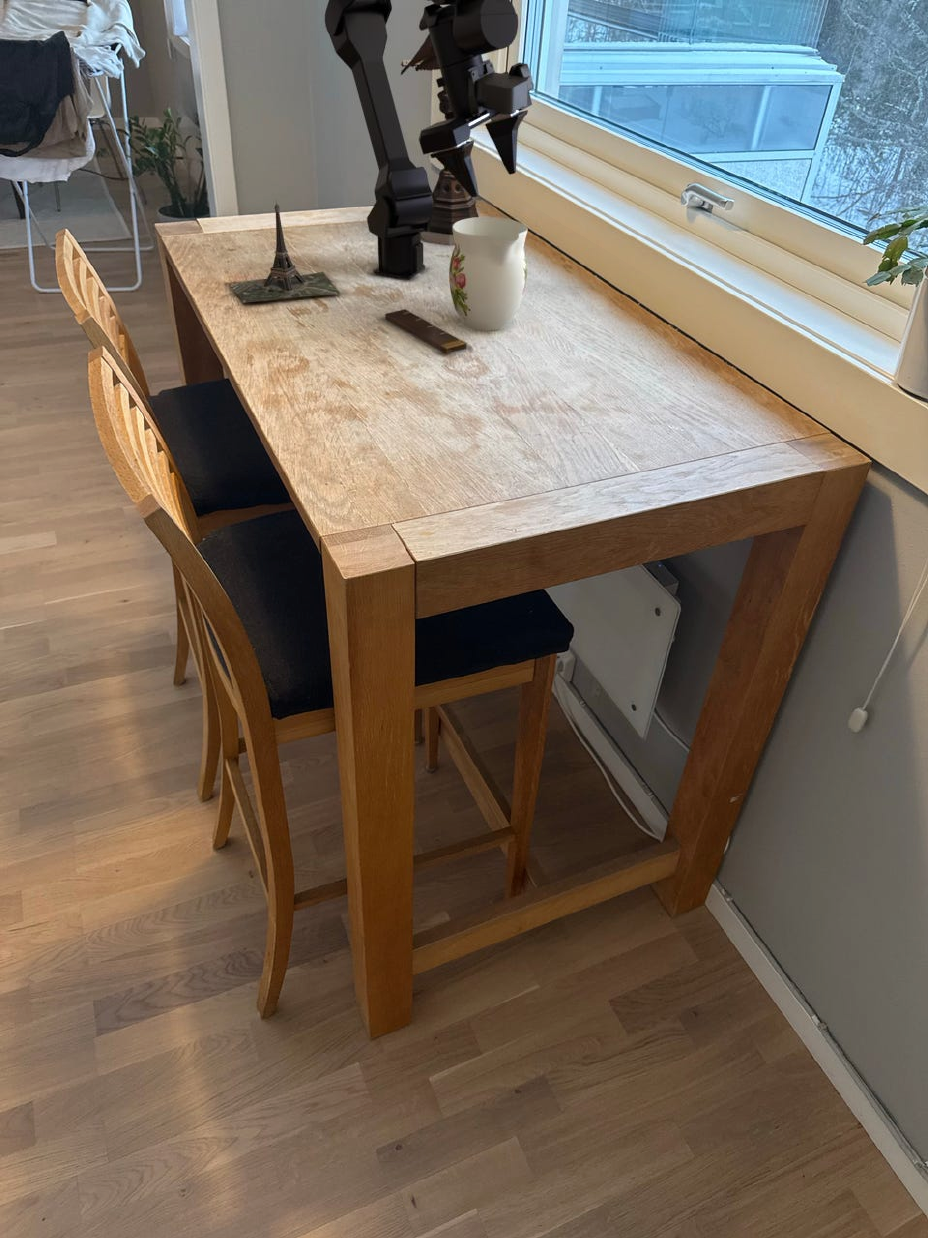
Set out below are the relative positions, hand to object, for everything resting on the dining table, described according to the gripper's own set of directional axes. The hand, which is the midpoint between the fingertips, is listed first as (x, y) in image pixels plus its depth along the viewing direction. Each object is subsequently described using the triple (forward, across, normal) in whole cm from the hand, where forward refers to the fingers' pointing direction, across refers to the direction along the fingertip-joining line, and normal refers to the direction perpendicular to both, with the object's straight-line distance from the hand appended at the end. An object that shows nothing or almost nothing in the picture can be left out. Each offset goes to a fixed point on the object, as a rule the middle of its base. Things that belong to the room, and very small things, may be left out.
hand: (494, 184), depth 126 cm
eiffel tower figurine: (+5, -19, +30) cm, 36 cm away
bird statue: (+11, +21, +33) cm, 40 cm away
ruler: (+14, -18, +5) cm, 23 cm away
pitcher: (+16, -8, +2) cm, 18 cm away
